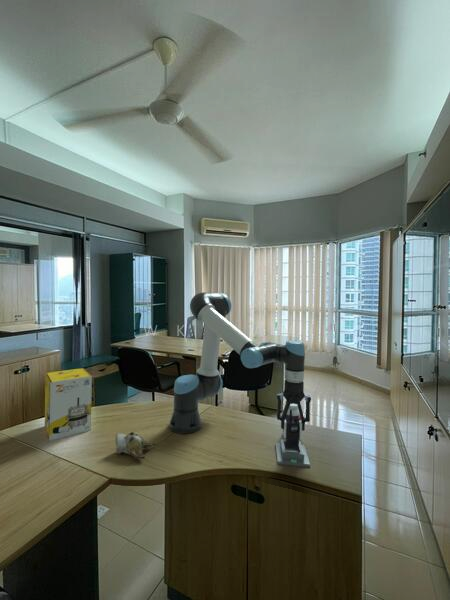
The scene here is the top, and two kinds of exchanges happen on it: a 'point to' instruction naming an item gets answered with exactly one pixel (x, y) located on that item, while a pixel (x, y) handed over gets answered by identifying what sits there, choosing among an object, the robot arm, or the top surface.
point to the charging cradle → (291, 454)
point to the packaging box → (67, 402)
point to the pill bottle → (293, 413)
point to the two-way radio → (292, 432)
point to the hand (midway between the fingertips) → (292, 437)
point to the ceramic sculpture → (132, 444)
